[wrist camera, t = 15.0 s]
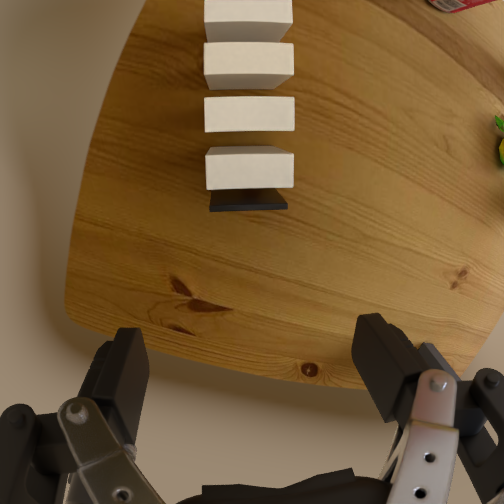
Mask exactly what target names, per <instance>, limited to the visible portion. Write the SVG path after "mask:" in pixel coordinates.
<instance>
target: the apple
mask: <svg viewBox="0 0 504 504" xmlns="http://www.w3.org/2000/svg"><path fill="white" fill-rule="evenodd" d="M495 119H496V125H497V126H498V128H499V129H500V130H501V131H503V132H504V121H503V120H502V119H500V118H499V117H497V116H495ZM499 152H500V160H501V162H502V163H503V165H504V138H503V140H502V142H501V144H500V146H499Z"/></svg>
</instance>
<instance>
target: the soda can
mask: <svg viewBox="0 0 504 504" xmlns="http://www.w3.org/2000/svg"><path fill="white" fill-rule="evenodd" d="M428 1H429V2H430V3H431V4H432V5H434V6H435V7H437V8H439V9H440V10H442V11H445V12H448V13H456V12H459V11H462V10H465V9H468V8H472V7H475V6H478V5H482V4H485V3H489V2H492V1H496V0H428Z"/></svg>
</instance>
